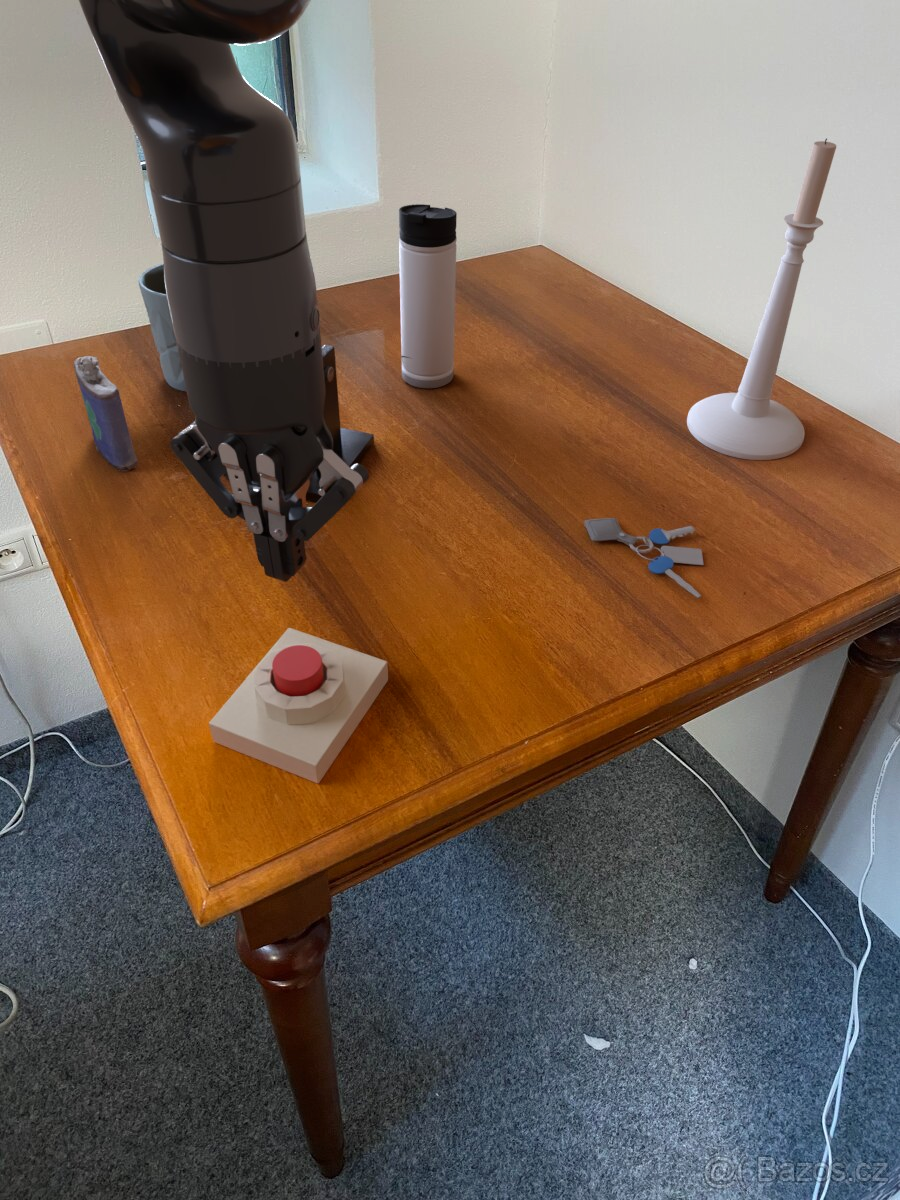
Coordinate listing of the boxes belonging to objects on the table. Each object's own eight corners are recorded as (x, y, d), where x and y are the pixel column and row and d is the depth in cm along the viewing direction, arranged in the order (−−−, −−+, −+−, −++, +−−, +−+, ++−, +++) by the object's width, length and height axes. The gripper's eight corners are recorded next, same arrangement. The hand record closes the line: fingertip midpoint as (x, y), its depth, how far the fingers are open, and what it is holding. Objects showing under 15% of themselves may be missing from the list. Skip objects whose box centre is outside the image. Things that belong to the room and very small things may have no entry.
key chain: (571, 532, 84) (572, 525, 83) (622, 497, 88) (623, 490, 88) (696, 602, 77) (698, 595, 76) (745, 560, 81) (747, 553, 81)
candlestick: (827, 440, 97) (934, 148, 77) (742, 472, 92) (832, 168, 72) (745, 389, 105) (822, 112, 85) (663, 416, 100) (723, 128, 80)
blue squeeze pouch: (141, 467, 91) (116, 373, 84) (113, 476, 90) (85, 381, 82) (113, 427, 96) (87, 336, 89) (87, 435, 95) (58, 343, 88)
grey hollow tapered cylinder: (157, 361, 108) (135, 264, 100) (240, 350, 110) (225, 254, 102) (164, 401, 101) (141, 300, 93) (252, 389, 103) (237, 289, 95)
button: (307, 703, 63) (305, 687, 62) (265, 687, 64) (262, 671, 63) (332, 670, 66) (331, 653, 64) (291, 655, 67) (288, 639, 65)
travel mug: (392, 384, 105) (386, 211, 91) (414, 360, 109) (412, 191, 96) (440, 395, 103) (442, 220, 89) (461, 370, 107) (466, 200, 94)
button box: (318, 784, 62) (313, 749, 60) (213, 742, 65) (203, 706, 62) (388, 680, 70) (387, 645, 67) (291, 645, 72) (286, 610, 70)
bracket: (327, 505, 87) (316, 389, 78) (246, 487, 89) (227, 372, 80) (374, 443, 95) (369, 332, 86) (299, 428, 97) (286, 318, 88)
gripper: (98, 327, 45) (166, 577, 57) (320, 382, 42) (344, 638, 53) (187, 274, 50) (232, 514, 62) (391, 319, 47) (399, 566, 58)
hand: (284, 571), depth 58 cm, fingers closed
